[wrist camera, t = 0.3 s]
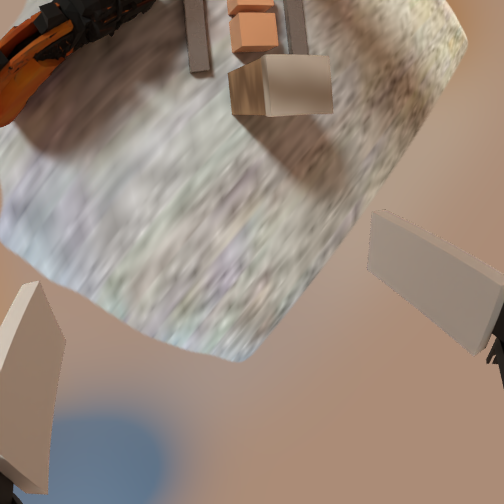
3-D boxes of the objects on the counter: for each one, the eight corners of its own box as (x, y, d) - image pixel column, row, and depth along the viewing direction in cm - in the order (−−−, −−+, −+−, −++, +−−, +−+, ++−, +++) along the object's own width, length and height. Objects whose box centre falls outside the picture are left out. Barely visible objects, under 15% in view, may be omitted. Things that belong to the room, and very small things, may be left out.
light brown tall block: (226, 72, 32) (265, 54, 21) (274, 69, 33) (328, 56, 22) (231, 115, 34) (271, 116, 23) (277, 111, 35) (333, 113, 25)
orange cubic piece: (228, 22, 29) (238, 12, 25) (262, 21, 30) (274, 13, 26) (232, 52, 31) (242, 46, 27) (265, 51, 32) (278, 45, 28)
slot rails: (181, -18, 25) (182, -22, 24) (295, -17, 28) (298, -19, 27) (190, 72, 30) (191, 71, 29) (305, 66, 34) (309, 65, 33)
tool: (147, 37, 32) (204, -24, 21) (0, 148, 25) (-26, 115, 13) (116, -3, 28) (162, -73, 16) (-32, 100, 21) (-66, 47, 9)
